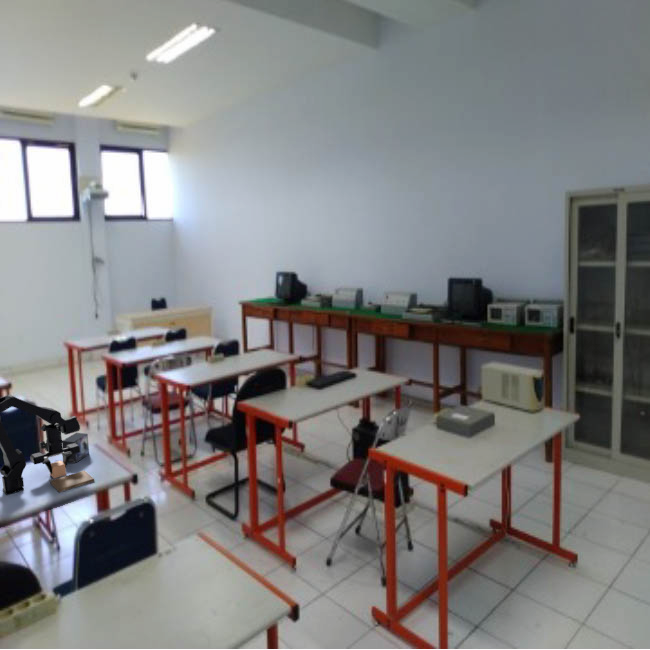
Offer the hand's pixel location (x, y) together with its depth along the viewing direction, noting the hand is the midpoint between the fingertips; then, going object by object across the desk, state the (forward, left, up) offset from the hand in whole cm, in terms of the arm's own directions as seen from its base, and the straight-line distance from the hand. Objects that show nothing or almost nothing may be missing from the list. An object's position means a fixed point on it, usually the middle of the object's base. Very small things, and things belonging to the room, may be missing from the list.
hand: (57, 472), depth 242 cm
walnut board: (+2, -12, -1) cm, 12 cm away
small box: (+12, +12, -2) cm, 17 cm away
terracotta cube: (0, 0, -1) cm, 1 cm away
